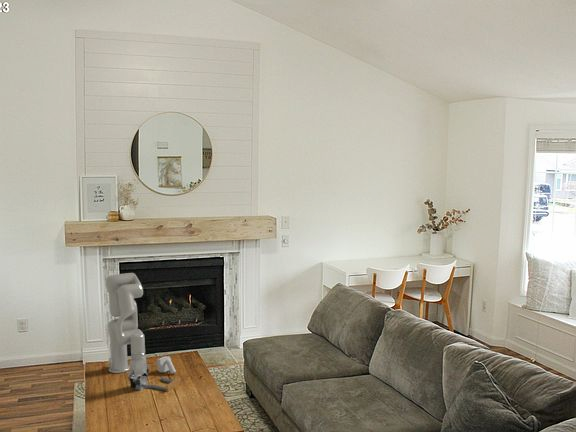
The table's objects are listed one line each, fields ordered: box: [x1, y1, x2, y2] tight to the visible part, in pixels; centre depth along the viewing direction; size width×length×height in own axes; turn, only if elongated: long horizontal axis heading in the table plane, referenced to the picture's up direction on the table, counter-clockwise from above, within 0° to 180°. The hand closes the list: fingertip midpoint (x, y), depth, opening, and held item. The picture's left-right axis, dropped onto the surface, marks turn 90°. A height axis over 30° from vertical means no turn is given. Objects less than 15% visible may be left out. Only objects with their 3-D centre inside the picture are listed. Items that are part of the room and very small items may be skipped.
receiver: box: [145, 376, 182, 393], centre depth 322 cm, size 15×14×4 cm
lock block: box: [131, 375, 148, 391], centre depth 319 cm, size 7×6×7 cm
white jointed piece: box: [156, 355, 177, 375], centre depth 341 cm, size 8×10×10 cm
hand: (139, 384), depth 320 cm, fingers open, 9 cm apart
